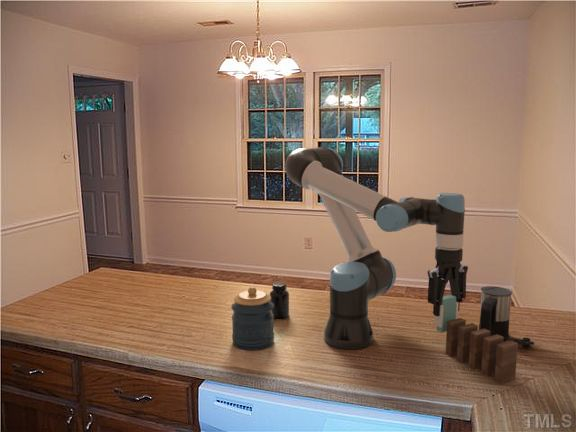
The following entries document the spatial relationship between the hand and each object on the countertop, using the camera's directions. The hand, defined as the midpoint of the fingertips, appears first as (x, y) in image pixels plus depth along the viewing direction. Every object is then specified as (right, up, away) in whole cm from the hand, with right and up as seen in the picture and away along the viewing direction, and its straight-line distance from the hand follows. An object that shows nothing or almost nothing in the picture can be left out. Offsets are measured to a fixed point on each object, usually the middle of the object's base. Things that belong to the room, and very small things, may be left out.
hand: (445, 323), depth 141 cm
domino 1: (0, -2, 0) cm, 2 cm away
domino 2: (+2, -8, -2) cm, 9 cm away
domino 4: (+6, -9, -10) cm, 15 cm away
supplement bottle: (-50, -4, +27) cm, 56 cm away
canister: (-57, -7, +7) cm, 58 cm away
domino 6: (+9, -11, -18) cm, 23 cm away
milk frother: (+20, -7, +6) cm, 22 cm away
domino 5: (+8, -10, -14) cm, 19 cm away
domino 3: (+4, -9, -6) cm, 11 cm away
